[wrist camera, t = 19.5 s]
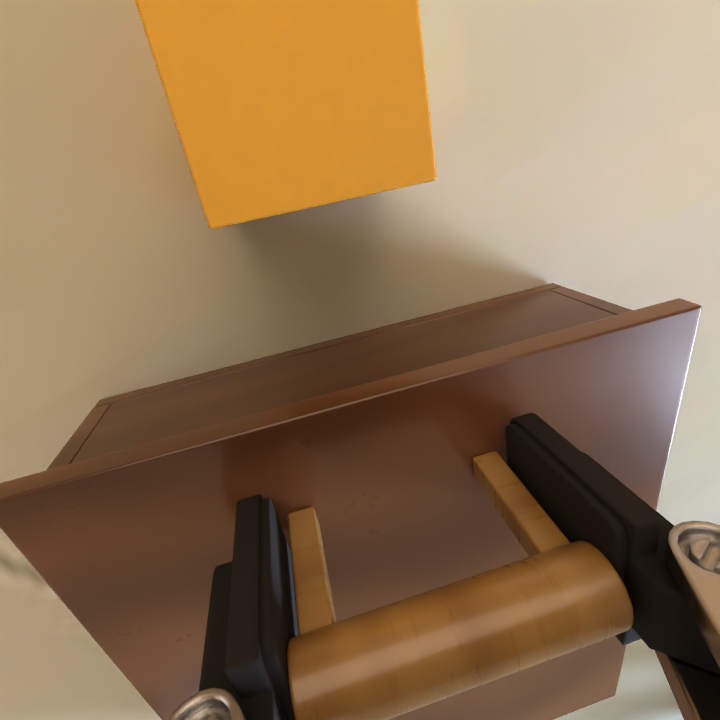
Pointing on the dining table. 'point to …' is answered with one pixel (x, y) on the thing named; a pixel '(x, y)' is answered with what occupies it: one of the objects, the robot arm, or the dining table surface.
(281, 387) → the brown wooden tray
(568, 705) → the lid
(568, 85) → the dining table surface
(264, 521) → the robot arm
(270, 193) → the plain orange cube
